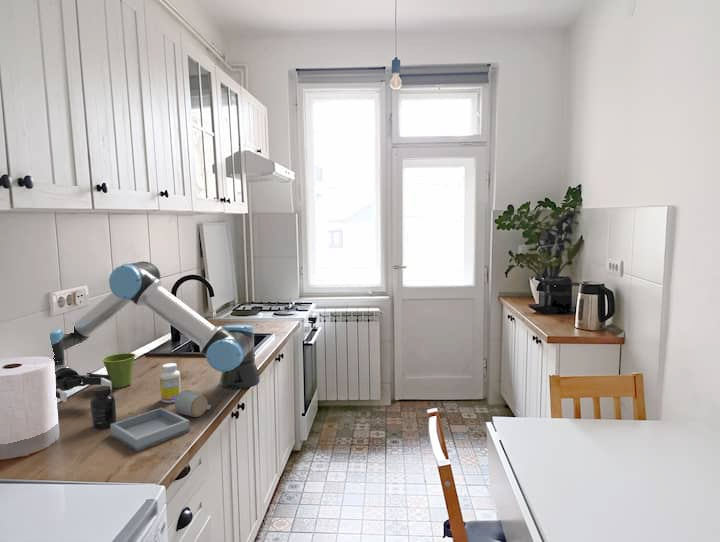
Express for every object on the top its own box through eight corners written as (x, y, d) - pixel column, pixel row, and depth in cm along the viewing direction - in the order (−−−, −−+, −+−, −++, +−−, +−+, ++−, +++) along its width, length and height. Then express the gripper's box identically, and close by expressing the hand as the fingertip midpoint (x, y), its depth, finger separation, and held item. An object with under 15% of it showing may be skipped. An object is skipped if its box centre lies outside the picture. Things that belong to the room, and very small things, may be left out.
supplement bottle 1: (98, 421, 150) (95, 384, 148) (120, 420, 150) (118, 384, 149) (87, 430, 143) (85, 392, 141) (111, 429, 143) (108, 391, 142)
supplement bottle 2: (166, 396, 170) (164, 362, 169) (184, 396, 170) (182, 362, 169) (157, 403, 164) (155, 367, 162) (176, 403, 163) (174, 368, 162)
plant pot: (131, 378, 191) (129, 351, 190) (142, 385, 182) (140, 356, 181) (99, 385, 183) (97, 357, 181) (109, 393, 174) (107, 363, 173)
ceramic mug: (192, 421, 149) (191, 398, 148) (174, 416, 153) (173, 393, 152) (216, 410, 158) (216, 388, 158) (199, 405, 162) (198, 384, 161)
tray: (162, 417, 152) (161, 407, 151) (189, 431, 142) (189, 420, 141) (110, 435, 139) (110, 424, 139) (137, 451, 129) (136, 439, 129)
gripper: (101, 379, 175) (128, 392, 162) (22, 398, 155) (45, 415, 142) (100, 359, 174) (127, 371, 161) (20, 376, 155) (43, 391, 141)
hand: (88, 391), depth 152 cm, fingers open, 13 cm apart
